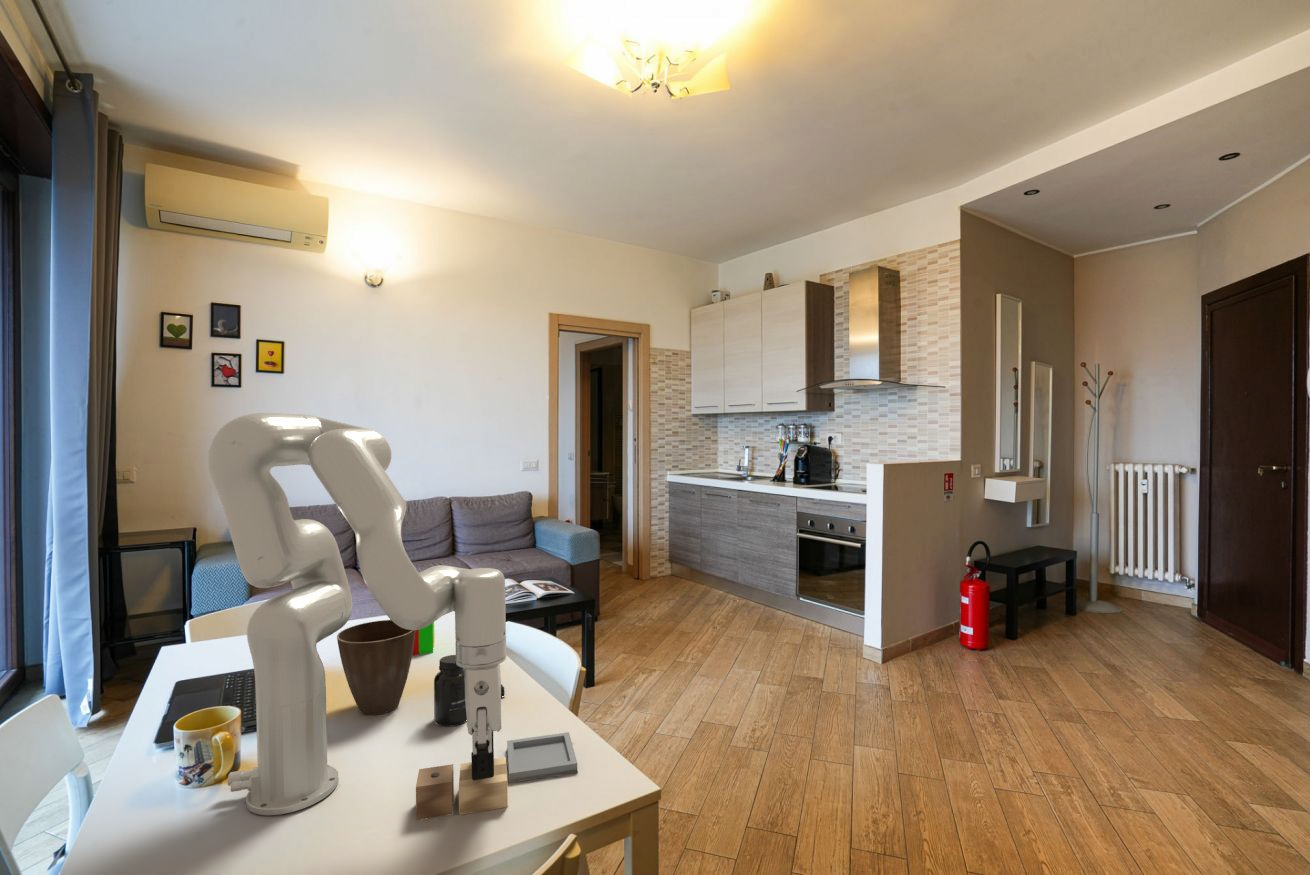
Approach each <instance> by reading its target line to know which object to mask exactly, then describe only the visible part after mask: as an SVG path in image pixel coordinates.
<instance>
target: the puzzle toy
mask: <svg viewBox="0 0 1310 875" xmlns="http://www.w3.org/2000/svg"><path fill="white" fill-rule="evenodd" d="M389 620H391V619H390V618H389ZM434 647H435V622H433V623H432V624H430V625H429V626H427V627H425V628H422V629H419V630H416V632H415V640H414V648H413V654H412V656H417V655H426V653H427V654H433V653H434V649H433V648H434Z"/></svg>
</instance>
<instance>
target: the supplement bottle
mask: <svg viewBox="0 0 1310 875" xmlns="http://www.w3.org/2000/svg"><path fill="white" fill-rule="evenodd" d="M438 670H439V671H438V672H437V674H436V675H435V676H434V678H433V679H434V680H433V718H434V723H435V724H437V725H438V726H441V727H454V726H453V725H455V726H458V725H457V724H459V725H461V724H463V723H465V722H467V721H466V720H467V716H466V704H465V680H464V668H462V667H459V666H458V665H457V664H456V654H450V655H446V656H443V657H441V658H440V659H439V666H438ZM464 721H465V722H464ZM460 723H461V724H460Z"/></svg>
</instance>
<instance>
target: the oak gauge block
mask: <svg viewBox="0 0 1310 875" xmlns="http://www.w3.org/2000/svg"><path fill="white" fill-rule="evenodd" d="M459 765H460V767H459V778H458V781H459V782H458V815H460V816H462V815H467V814H474V813H479V812H485V811H490V810H492V811H493V810H498V809H504V808H508V807H509V805H508V804H509V803H508V802H509V801H508V800H509V799H508V775H507V774H508V772H507V770H508V769H507V757H506V756H504V757H498V758H497V757H496V758H494V776H493V777H492V778H486V779H480V780H472V761H471V762H464V763H460V764H459Z"/></svg>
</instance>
